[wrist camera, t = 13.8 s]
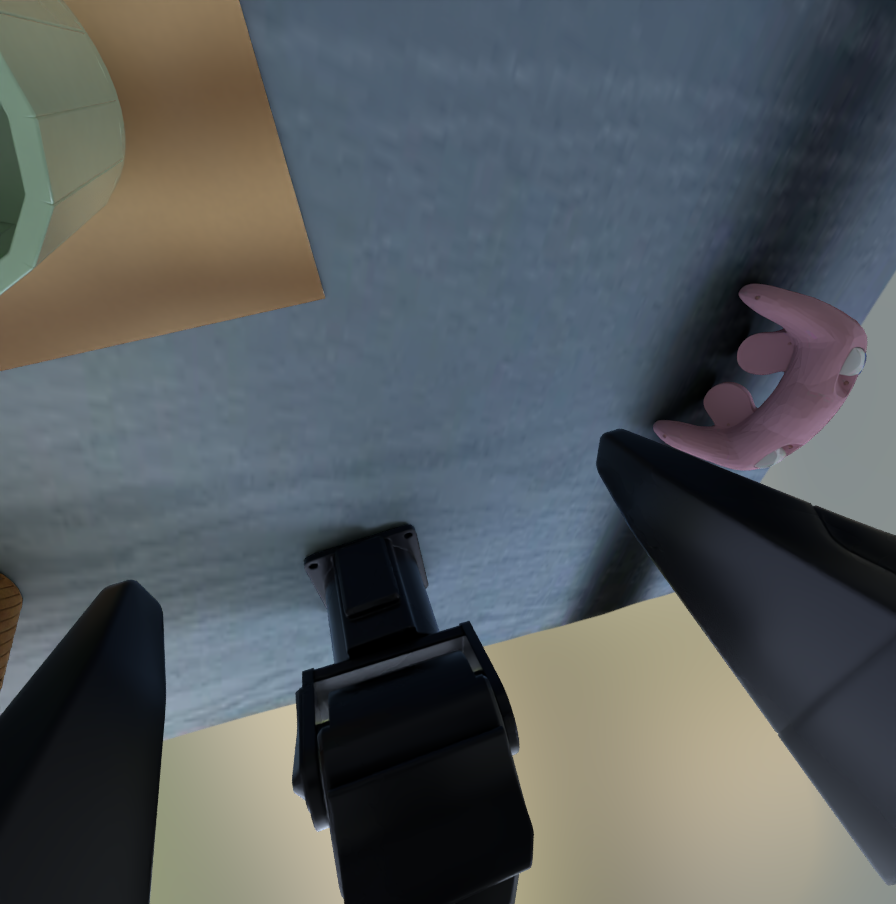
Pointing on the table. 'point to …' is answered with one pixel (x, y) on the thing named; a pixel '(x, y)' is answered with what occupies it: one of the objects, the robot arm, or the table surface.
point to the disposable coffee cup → (8, 619)
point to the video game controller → (798, 393)
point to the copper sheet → (171, 194)
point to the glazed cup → (51, 132)
